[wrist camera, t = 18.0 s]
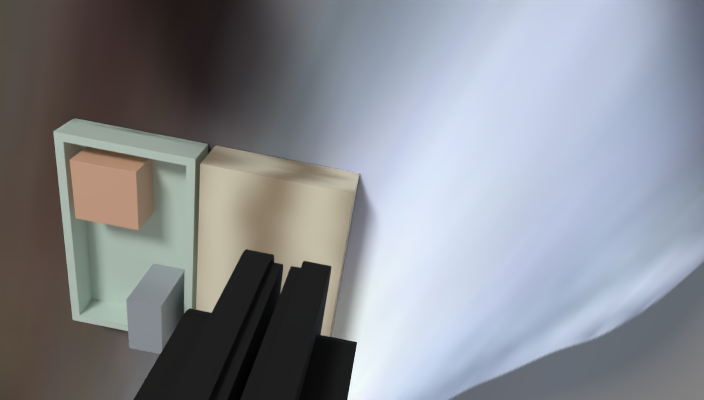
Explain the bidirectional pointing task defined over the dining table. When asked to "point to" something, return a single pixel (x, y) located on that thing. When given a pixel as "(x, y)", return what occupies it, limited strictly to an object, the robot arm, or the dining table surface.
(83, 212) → the terracotta tile
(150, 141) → the box
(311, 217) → the birch platform
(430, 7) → the dining table surface
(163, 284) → the slate tile
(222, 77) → the dining table surface
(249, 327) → the robot arm
